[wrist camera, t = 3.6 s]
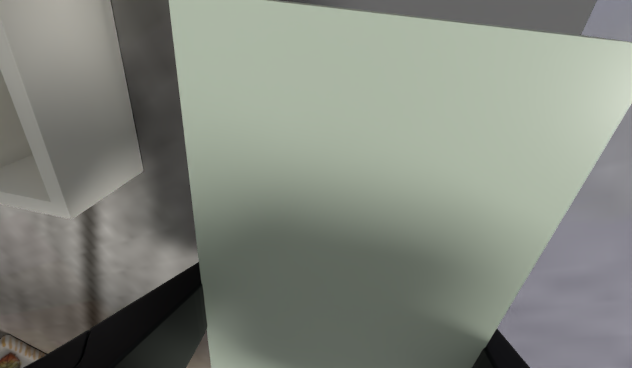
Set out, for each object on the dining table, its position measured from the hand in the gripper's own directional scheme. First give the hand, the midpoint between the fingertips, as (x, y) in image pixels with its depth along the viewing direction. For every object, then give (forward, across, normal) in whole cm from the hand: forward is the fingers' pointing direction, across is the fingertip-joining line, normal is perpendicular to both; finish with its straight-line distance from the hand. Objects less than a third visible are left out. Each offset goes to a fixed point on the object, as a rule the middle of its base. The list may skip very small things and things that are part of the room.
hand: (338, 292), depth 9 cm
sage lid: (+1, 0, 0) cm, 1 cm away
